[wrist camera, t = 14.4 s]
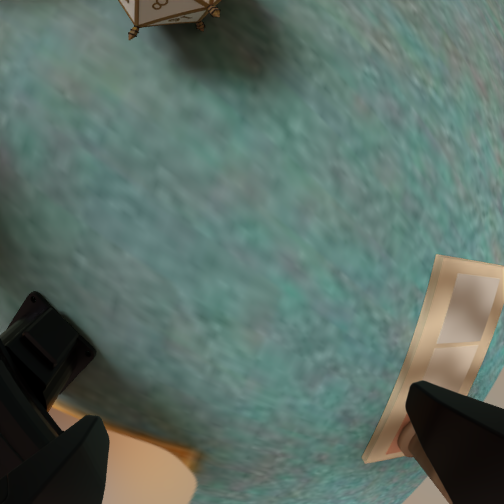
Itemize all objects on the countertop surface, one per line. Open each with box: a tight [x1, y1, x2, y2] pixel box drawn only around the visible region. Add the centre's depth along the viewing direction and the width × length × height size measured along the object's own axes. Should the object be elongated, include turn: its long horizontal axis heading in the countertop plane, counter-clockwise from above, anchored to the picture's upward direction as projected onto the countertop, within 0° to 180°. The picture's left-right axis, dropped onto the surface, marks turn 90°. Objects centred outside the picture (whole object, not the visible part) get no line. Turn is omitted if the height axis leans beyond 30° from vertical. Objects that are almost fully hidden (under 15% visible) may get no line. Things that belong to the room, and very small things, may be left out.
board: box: [362, 254, 504, 464], centre depth 24 cm, size 21×10×1 cm, turn 172°
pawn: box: [397, 421, 453, 504], centre depth 18 cm, size 6×6×13 cm
